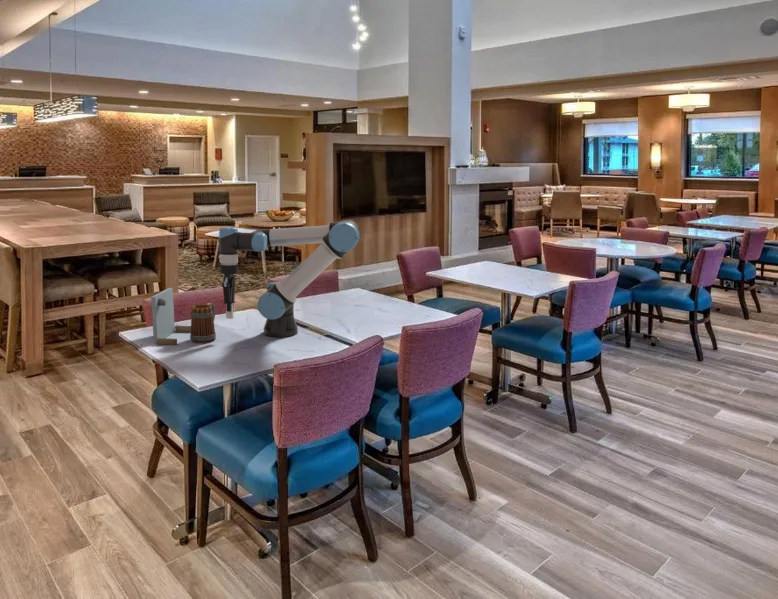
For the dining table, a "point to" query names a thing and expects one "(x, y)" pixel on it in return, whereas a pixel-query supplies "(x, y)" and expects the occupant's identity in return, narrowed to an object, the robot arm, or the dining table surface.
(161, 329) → the door
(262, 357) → the dining table surface
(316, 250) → the robot arm
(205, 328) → the mug
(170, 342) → the tan support feet
